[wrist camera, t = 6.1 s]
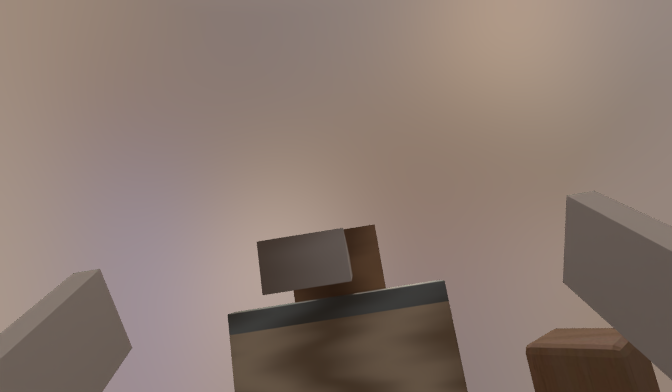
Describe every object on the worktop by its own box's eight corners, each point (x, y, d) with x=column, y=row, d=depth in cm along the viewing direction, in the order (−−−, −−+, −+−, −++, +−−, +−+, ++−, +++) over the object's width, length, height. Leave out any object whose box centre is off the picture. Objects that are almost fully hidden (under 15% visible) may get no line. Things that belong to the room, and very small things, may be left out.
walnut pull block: (180, 400, 8) (166, 176, 9) (309, 305, 32) (300, 245, 33) (458, 357, 8) (413, 136, 9) (380, 294, 32) (370, 234, 33)
